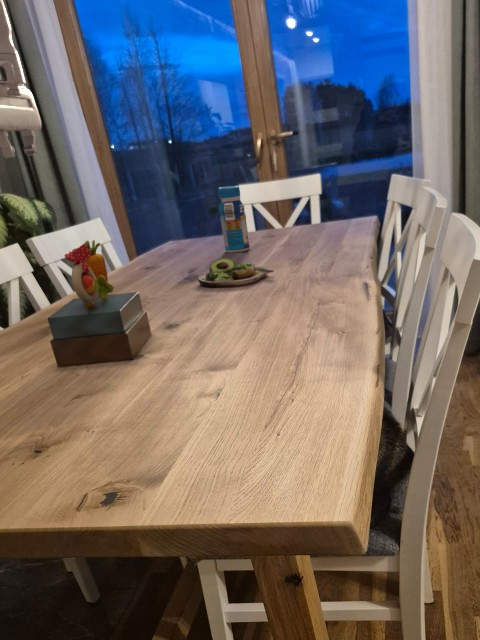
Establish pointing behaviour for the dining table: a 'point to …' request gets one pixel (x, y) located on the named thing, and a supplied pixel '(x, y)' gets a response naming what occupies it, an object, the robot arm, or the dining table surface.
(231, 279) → the salad plate
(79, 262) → the bird rattle
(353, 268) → the dining table surface
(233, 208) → the blue canister
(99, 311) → the block stack
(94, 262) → the carrot
